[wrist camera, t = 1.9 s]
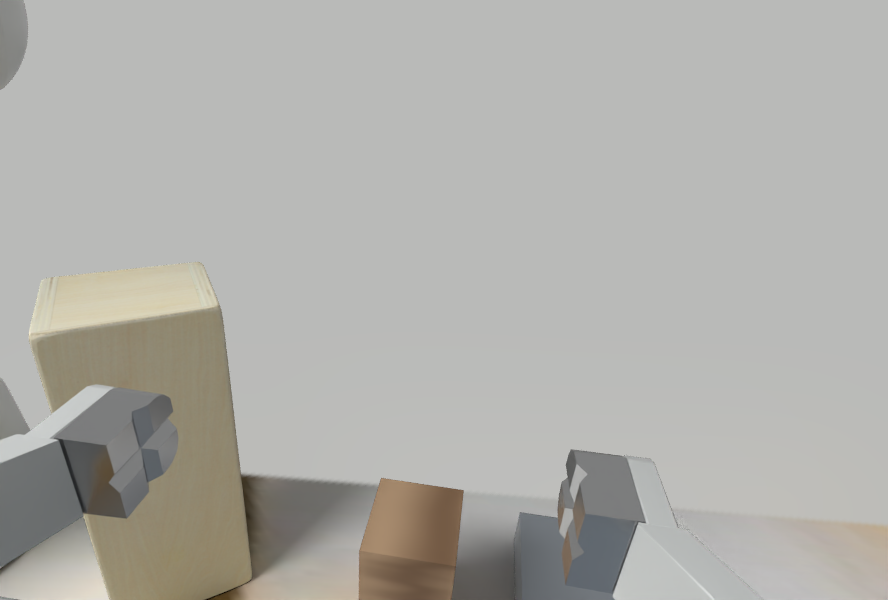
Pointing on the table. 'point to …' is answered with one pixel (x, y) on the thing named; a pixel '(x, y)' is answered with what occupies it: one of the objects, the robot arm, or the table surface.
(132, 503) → the robot arm
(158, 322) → the tall pale wood block
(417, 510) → the walnut brick
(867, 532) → the table surface
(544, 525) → the base brick
